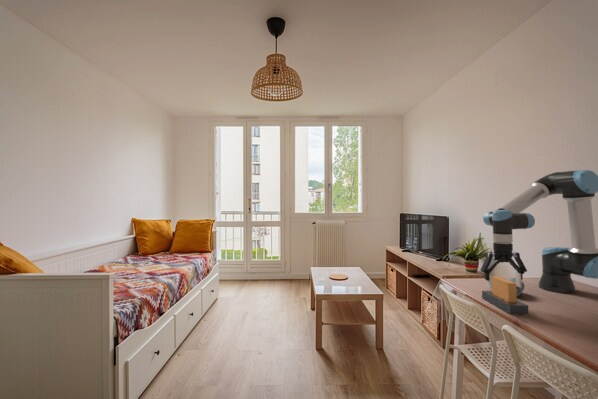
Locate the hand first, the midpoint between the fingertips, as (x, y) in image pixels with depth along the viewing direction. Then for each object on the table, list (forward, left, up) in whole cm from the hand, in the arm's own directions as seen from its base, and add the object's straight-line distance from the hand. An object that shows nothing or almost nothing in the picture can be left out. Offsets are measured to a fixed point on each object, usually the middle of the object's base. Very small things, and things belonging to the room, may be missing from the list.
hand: (503, 287), depth 135 cm
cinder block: (0, 0, -9) cm, 9 cm away
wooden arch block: (0, 0, -8) cm, 9 cm away
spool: (-16, -16, -9) cm, 24 cm away
